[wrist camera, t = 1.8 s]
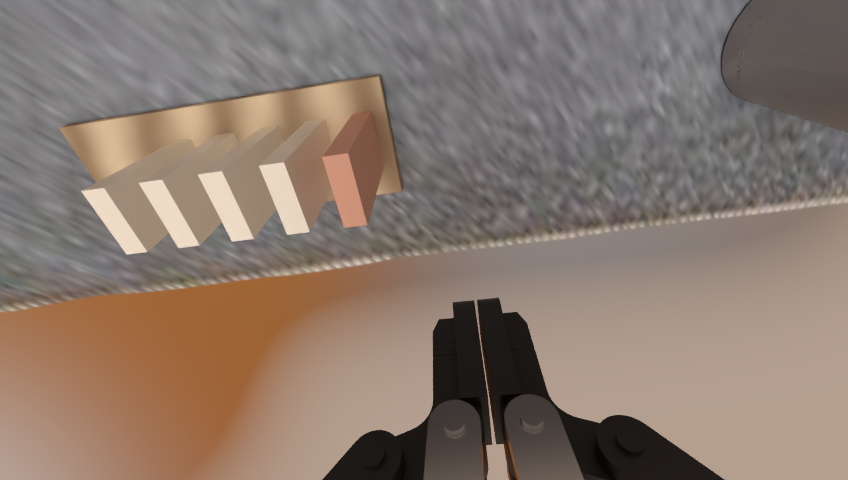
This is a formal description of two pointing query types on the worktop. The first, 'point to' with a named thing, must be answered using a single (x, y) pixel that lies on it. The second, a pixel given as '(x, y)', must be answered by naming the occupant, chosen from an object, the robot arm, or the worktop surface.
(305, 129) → the domino
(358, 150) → the domino
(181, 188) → the domino
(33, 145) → the worktop surface
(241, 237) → the domino
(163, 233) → the domino
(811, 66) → the robot arm
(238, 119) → the board
